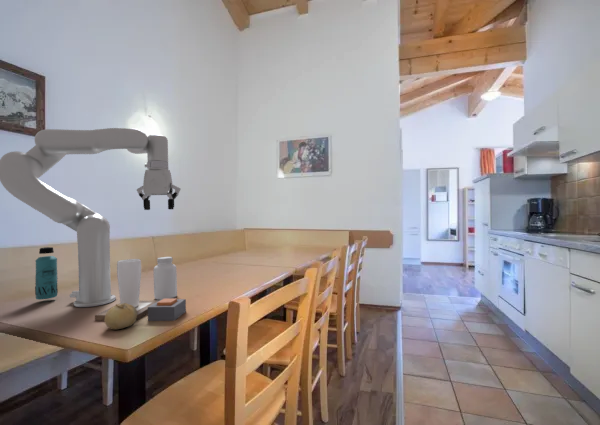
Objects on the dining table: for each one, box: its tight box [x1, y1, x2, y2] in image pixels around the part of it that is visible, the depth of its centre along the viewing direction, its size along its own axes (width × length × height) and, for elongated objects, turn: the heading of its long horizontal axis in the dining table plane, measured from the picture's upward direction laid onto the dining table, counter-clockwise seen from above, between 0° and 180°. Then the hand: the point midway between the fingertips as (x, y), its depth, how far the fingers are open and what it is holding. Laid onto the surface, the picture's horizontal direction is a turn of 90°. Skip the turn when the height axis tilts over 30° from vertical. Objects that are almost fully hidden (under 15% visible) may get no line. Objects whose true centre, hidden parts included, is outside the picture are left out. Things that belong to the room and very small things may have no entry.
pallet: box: [94, 299, 159, 321], centre depth 98 cm, size 13×15×2 cm
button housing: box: [147, 298, 187, 322], centre depth 93 cm, size 8×8×4 cm
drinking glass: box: [116, 258, 142, 307], centre depth 98 cm, size 7×7×15 cm
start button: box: [157, 297, 178, 306], centre depth 93 cm, size 4×4×3 cm
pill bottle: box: [153, 256, 178, 300], centre depth 115 cm, size 8×8×15 cm
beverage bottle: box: [34, 246, 59, 300], centre depth 113 cm, size 6×7×20 cm
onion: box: [103, 303, 137, 330], centre depth 85 cm, size 8×8×7 cm
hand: (159, 209), depth 121 cm, fingers open, 9 cm apart
